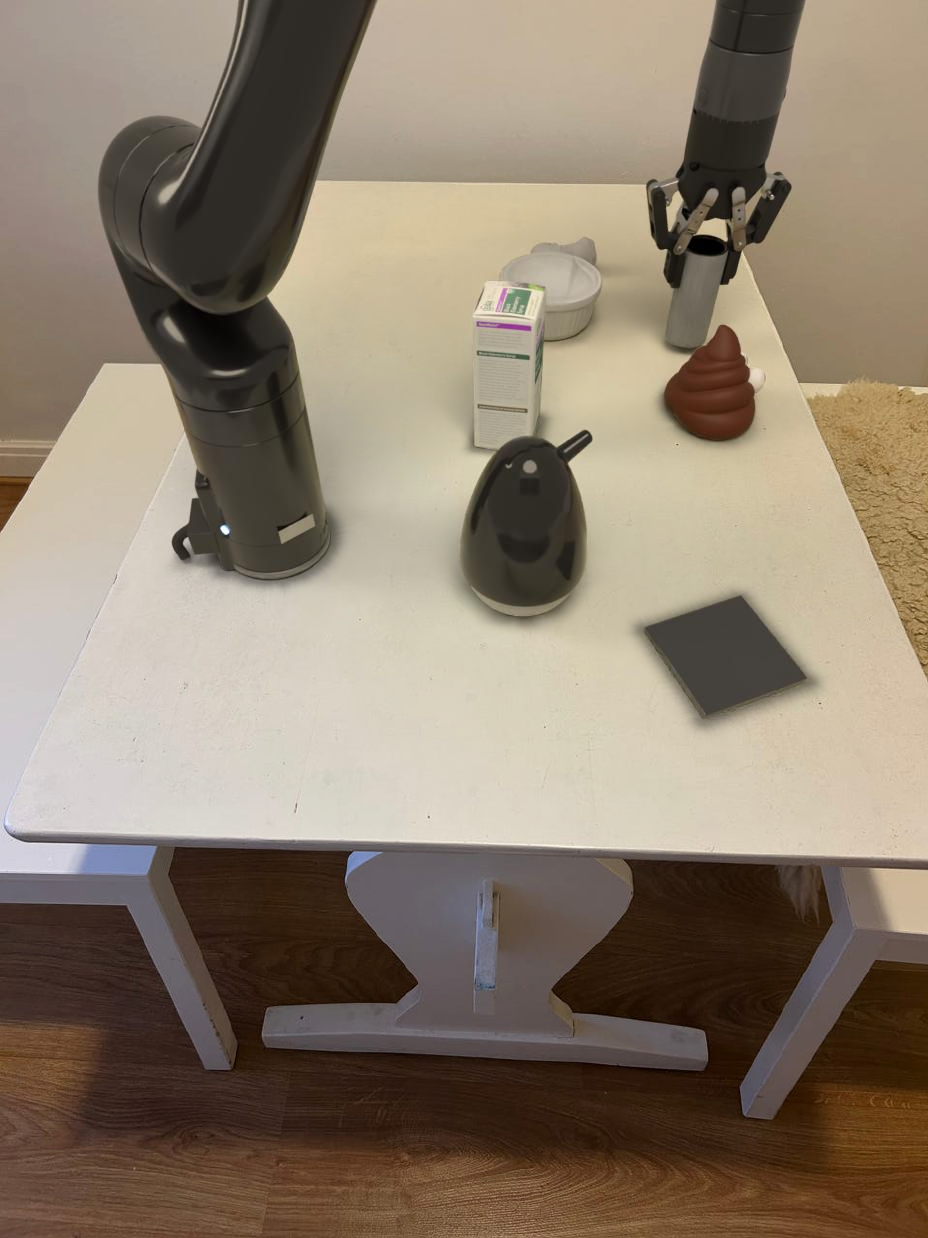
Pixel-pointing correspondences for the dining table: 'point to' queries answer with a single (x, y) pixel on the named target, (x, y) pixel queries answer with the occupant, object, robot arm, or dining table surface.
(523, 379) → the syrup box
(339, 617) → the dining table surface
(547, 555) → the pump dispenser
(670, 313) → the planter
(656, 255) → the dining table surface
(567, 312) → the ramekin
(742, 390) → the poop emoji
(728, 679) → the slate coaster
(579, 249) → the pale two-lobed sculpture
